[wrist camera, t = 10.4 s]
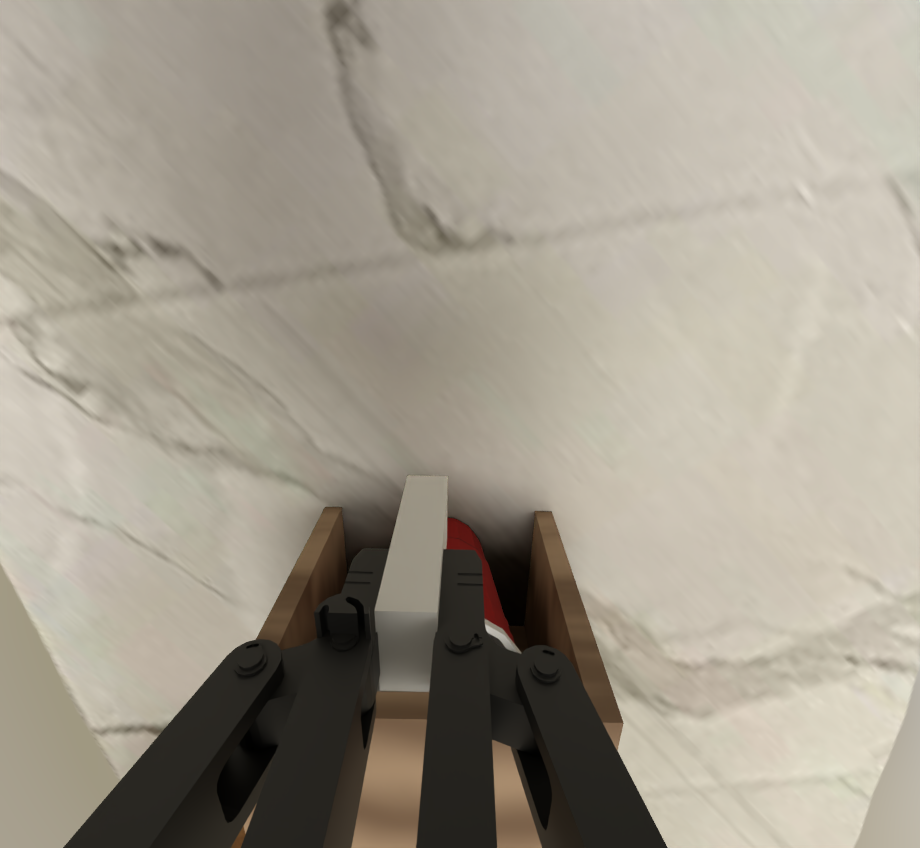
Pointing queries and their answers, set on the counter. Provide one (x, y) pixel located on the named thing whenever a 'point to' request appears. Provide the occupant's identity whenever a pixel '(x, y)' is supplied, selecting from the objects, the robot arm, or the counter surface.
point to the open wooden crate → (405, 713)
